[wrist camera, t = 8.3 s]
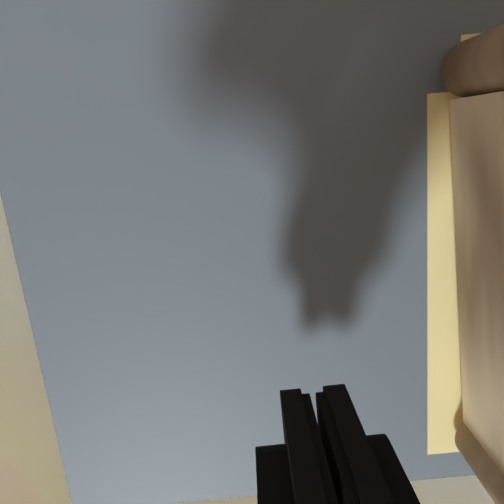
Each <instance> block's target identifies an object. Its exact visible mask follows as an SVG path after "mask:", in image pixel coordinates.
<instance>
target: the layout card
mask: <svg viewBox="0 0 504 504" xmlns="http://www.w3.org/2000/svg"><path fill="white" fill-rule="evenodd" d="M503 24H504V0H0V193H1V198H2V202H3V206H4V211H5V215H6V219H7V224H8V228H9V232H10V237H11V241H12V245H13V250H14V254H15V258H16V263H17V267H18V271H19V276H20V280H21V284H22V289H23V293H24V297H25V302H26V306H27V310H28V315H29V319H30V323H31V328H32V332H33V336H34V341H35V345H36V349H37V354H38V358H39V362H40V367H41V371H42V375H43V380H44V384H45V388H46V393H47V397H48V401H49V406H50V410H51V414H52V419H53V423H54V427H55V432H56V436H57V440H58V445H59V449H60V453H61V458H62V462H63V466H64V471H65V475H66V479H67V484H68V488H69V492H70V497H71V501H72V504H169V503H180V502H191V501H201V500H212V499H223V498H233V497H244V496H254V495H257V477H256V454H255V447H257V446H267V445H276V444H285V443H284V432H283V422H282V411H281V401H280V390H288V389H298V388H300V389H301V392H302V394H306V393H310V397H311V401H312V404H313V408H314V412H315V416H316V420H317V409H316V392H323V386H327V385H337V384H345V386H346V388H347V391H348V393H349V395H350V398H351V400H352V403H353V405H354V407H355V410H356V412H357V415H358V417H359V419H360V422H361V424H362V427H363V429H364V431H365V434H366V435H375V434H386V435H387V437H388V438H389V440H390V442H391V444H392V446H393V448H394V451H395V453H396V455H397V457H398V459H399V461H400V463H401V465H402V467H403V469H404V471H405V473H406V475H407V477H408V479H409V481H414V480H425V479H436V478H446V477H457V476H468V475H475V473H474V472H473V470H472V469H471V467H470V466H469V464H468V463H467V461H466V460H465V459H464V457H463V456H462V454H461V453H460V451H459V450H458V448H457V446H456V444H455V434H456V431H457V429H458V427H459V426H460V425H461V423H463V402H462V379H461V356H460V332H459V309H458V286H457V263H456V240H455V216H454V193H453V170H452V147H451V124H450V100H452V99H458V98H464V97H458V96H455V95H453V94H452V93H450V92H449V91H448V90H447V89H446V88H445V86H444V84H443V82H442V79H441V65H442V62H443V59H444V57H445V55H446V54H447V52H448V51H449V50H450V49H451V48H452V47H453V46H455V45H456V44H458V43H460V42H462V41H465V40H467V39H469V38H472V37H474V36H476V35H479V34H481V33H484V32H486V31H488V30H491V29H493V28H495V27H498V26H500V25H503ZM317 423H318V422H317Z"/></svg>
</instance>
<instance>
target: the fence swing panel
mask: <svg viewBox="0 0 504 504" xmlns="http://www.w3.org/2000/svg"><path fill="white" fill-rule="evenodd" d="M441 79H442V82H443V84H444V86H445V88H446V89H447V90H448V91H449V92H450V93H452V94H453V95H455V96H458V97H464V98H458V99H452V100H450V124H451V147H452V170H453V193H454V216H455V240H456V263H457V286H458V309H459V332H460V356H461V379H462V402H463V423H461V425H460V426H459V427H458V429H457V431H456V434H455V444H456V446H457V448H458V450H459V451H460V453H461V454H462V456H463V457H464V459H465V460H466V461H467V463H468V464H469V466H470V467H471V469H472V470H473V472H474V473H475V475H476V476H477V478H478V479H479V481H480V482H481V483H482V485H483V486H484V488H485V489H486V491H487V492H488V494H489V495H490V497H491V498H492V500H493V501H494V503H495V504H504V24H503V25H500V26H498V27H495V28H493V29H491V30H488V31H486V32H484V33H481V34H479V35H476V36H474V37H472V38H469V39H467V40H465V41H462V42H460V43H458V44H456V45H455V46H453V47H452V48H451V49H450V50H449V51H448V52H447V54H446V55H445V57H444V59H443V62H442V65H441Z"/></svg>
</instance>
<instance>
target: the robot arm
mask: <svg viewBox="0 0 504 504" xmlns="http://www.w3.org/2000/svg"><path fill="white" fill-rule="evenodd" d="M280 401H281V411H282V422H283V432H284V443H285V444H276V445H267V446H257V447H255V454H256V477H257V499H258V504H420V502H419V500H418V498H417V496H416V494H415V492H414V490H413V488H412V486H411V484H410V481H409V479H408V477H407V475H406V473H405V471H404V469H403V467H402V465H401V463H400V461H399V459H398V457H397V455H396V453H395V451H394V448H393V446H392V444H391V442H390V440H389V438H388V437H387V435H386V434H375V435H366V434H365V431H364V429H363V427H362V424H361V422H360V419H359V417H358V415H357V412H356V410H355V407H354V405H353V403H352V400H351V398H350V395H349V393H348V391H347V388H346V386H345V384H337V385H327V386H323V392H316V409H317V420H316V416H315V412H314V408H313V404H312V401H311V397H310V393H306V394H302V392H301V389H300V388H298V389H288V390H280ZM317 422H318V423H317Z"/></svg>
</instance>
